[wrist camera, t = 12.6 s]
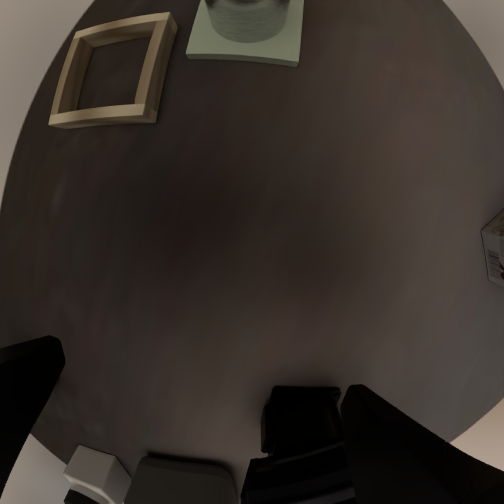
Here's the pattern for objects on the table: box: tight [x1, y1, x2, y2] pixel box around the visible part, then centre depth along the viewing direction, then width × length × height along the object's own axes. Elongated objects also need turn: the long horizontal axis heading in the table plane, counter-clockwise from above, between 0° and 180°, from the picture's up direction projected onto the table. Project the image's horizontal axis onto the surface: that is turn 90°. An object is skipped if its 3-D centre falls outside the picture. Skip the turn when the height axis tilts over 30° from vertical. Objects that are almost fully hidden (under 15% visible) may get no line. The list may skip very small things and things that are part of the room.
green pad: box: [186, 0, 304, 68], centre depth 15 cm, size 8×8×1 cm
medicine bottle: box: [63, 445, 131, 504], centre depth 21 cm, size 7×7×12 cm
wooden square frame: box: [49, 12, 178, 129], centre depth 15 cm, size 9×9×2 cm
